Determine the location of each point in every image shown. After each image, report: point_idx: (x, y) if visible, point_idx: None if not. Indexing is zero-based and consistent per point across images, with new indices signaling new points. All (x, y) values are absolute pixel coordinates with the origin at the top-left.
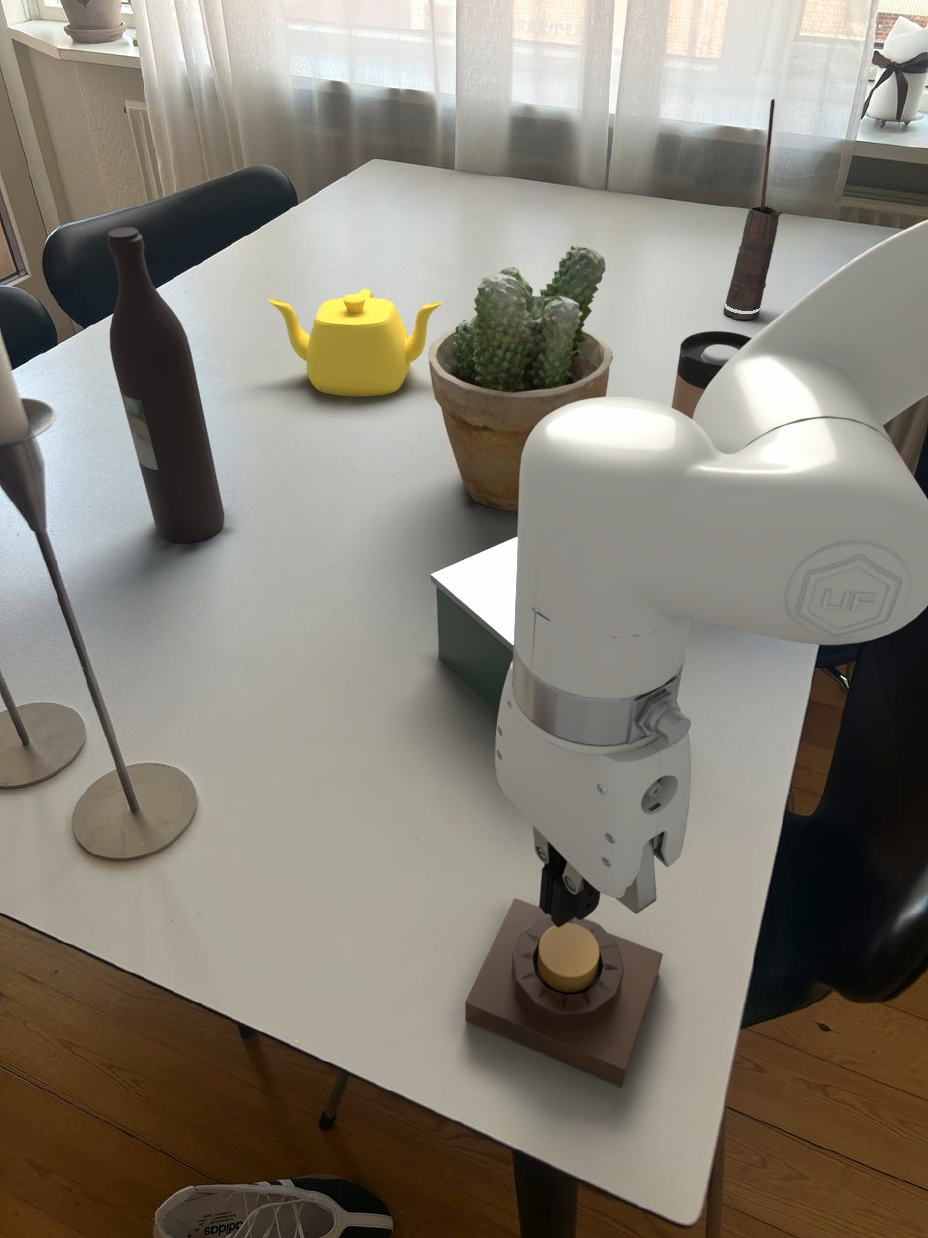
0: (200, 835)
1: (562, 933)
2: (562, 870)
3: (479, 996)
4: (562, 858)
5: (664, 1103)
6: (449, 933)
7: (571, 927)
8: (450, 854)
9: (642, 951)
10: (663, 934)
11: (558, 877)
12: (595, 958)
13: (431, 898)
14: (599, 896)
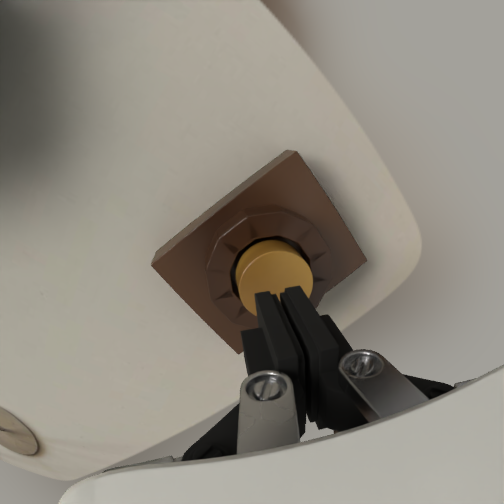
0: (22, 415)
1: (254, 283)
2: (305, 411)
3: (239, 342)
4: (304, 428)
5: (379, 225)
6: (148, 314)
7: (252, 269)
8: (65, 274)
9: (282, 170)
10: (252, 116)
11: (313, 420)
12: (303, 265)
13: (106, 312)
14: (335, 325)
